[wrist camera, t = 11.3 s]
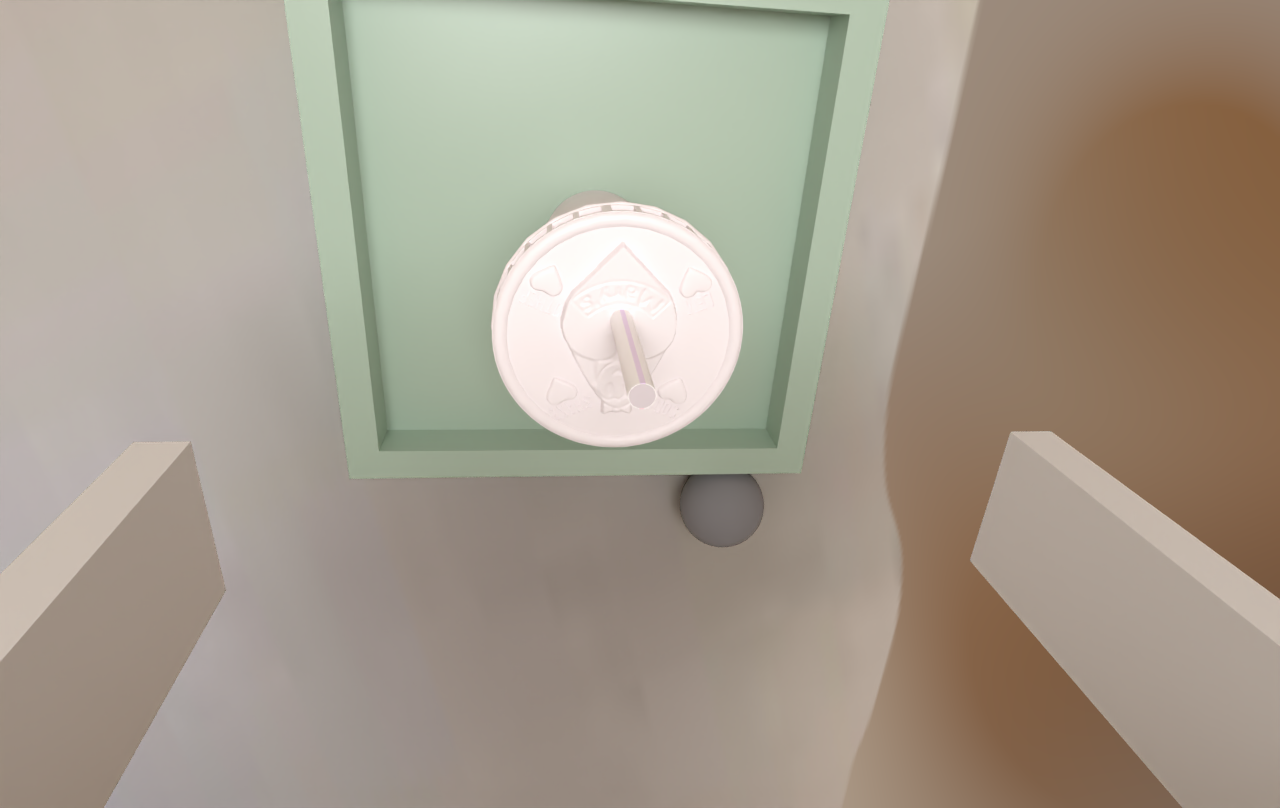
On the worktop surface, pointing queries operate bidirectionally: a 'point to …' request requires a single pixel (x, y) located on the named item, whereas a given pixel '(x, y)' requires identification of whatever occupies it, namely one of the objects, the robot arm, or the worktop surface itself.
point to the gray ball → (721, 508)
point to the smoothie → (615, 322)
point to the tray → (551, 173)
